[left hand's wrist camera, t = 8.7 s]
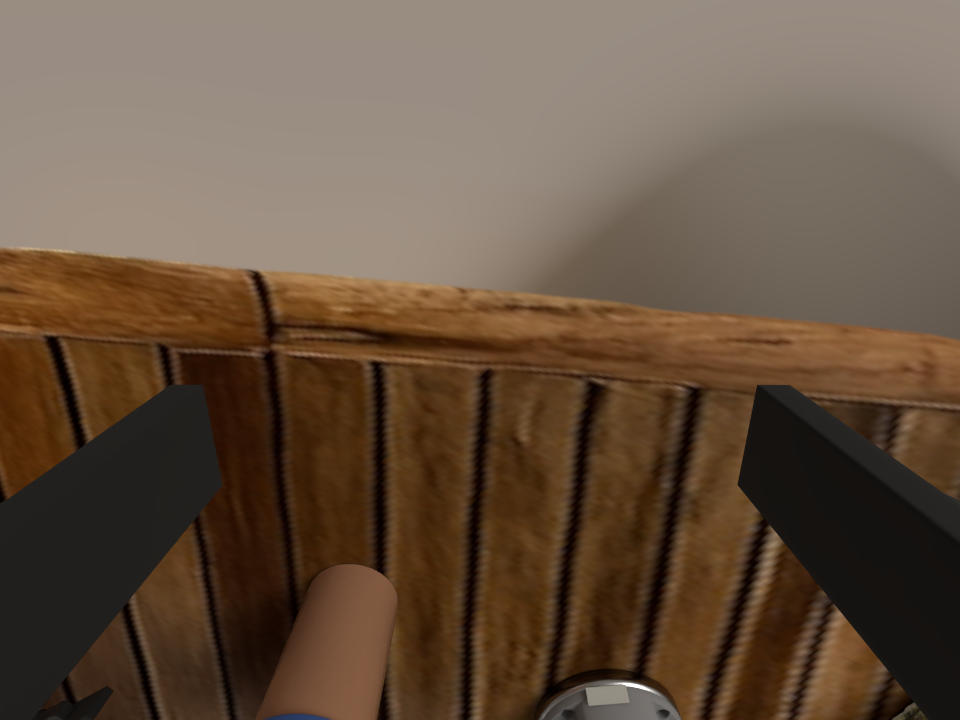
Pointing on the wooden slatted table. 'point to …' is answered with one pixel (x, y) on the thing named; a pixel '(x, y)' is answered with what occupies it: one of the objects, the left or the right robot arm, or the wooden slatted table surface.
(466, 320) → the wooden slatted table surface
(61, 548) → the left robot arm
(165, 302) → the wooden slatted table surface
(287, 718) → the lid
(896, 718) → the fossil
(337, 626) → the jar
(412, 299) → the wooden slatted table surface
